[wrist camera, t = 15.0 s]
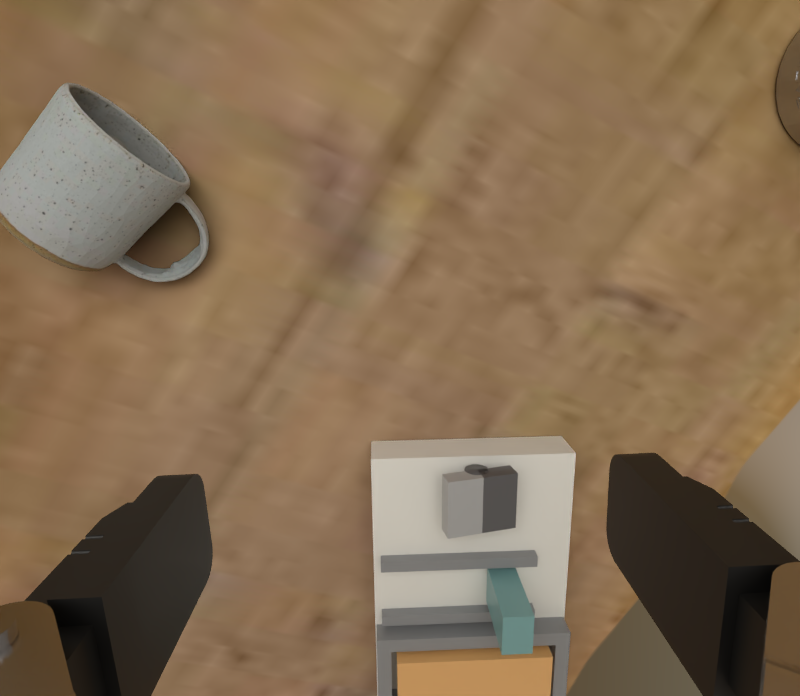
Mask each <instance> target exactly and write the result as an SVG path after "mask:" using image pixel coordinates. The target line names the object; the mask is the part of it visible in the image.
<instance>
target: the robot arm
mask: <svg viewBox="0 0 800 696" xmlns="http://www.w3.org/2000/svg"><path fill="white" fill-rule="evenodd" d="M776 100H777V107H778V113H779V115H780V118H781V120H782V123H783V125H784V127H785V129H786V130H787V132H788V133H789V134H790V136H791V137H792V138H793V139H794V140H795V141H796V142H797V143H798V144H800V31H799V32H798V33H797V34H796V36H795V37H794V39H793V40H792V42H791V43H790V45H789V46H788V48H787V50H786V52H785V55H784V57H783V59H782V62H781V64H780V69H779V73H778V77H777V85H776ZM607 539H608V544H609V548H610V552H611V554H612V557H613V559H614V561H615V563H616V564H617V566H618V567H619V569H620V570H621V572H622V573H623V575H624V576H625V578H626V579H627V581H628V582H629V584H630V585H631V587H632V588H633V590H634V591H635V593H636V595H637V596H638V598H639V599H640V600H641V602H642V603H643V605H644V607H645V608H646V610H647V611H648V613H649V614H650V616H651V617H652V619H653V620H654V622H655V623H656V625H657V626H658V628H659V629H660V631H661V632H662V634H663V635H664V637H665V639H666V640H667V642H668V643H669V645H670V646H671V648H672V649H673V651H674V652H675V654H676V655H677V657H678V658H679V660H680V661H681V663H682V664H683V666H684V667H685V669H686V670H687V672H688V674H689V675H690V677H691V678H692V680H693V681H694V683H695V684H696V686H697V687H698V689H699V690H700V692H701V693H702V695H703V696H800V561H799V560H797V559H796V558H795V557H794V556H792V555H791V554H790V553H789V552H788V551H786V549H784V548H783V547H782V546H781V545H780V544H778V543H777V542H776V541H775V540H774V539H772V538H771V537H770V536H769V535H768V534H766V533H765V532H764V531H763V530H762V529H761V528H759V527H758V526H757V525H756V524H754V523H753V522H749V518H747V517H746V516H745V515H744V514H743V513H741V512H740V511H739V510H738V509H737V508H733V505H732V504H731V503H729V502H728V501H727V500H726V499H725V498H724V497H722V496H721V495H720V494H719V493H718V492H716V491H715V490H714V489H712V488H710V487H708V486H706V485H704V484H702V483H700V482H697V481H695V480H693V479H691V478H689V477H683V476H682V475H681V474H679V473H678V472H677V471H676V470H675V469H674V468H673V467H671V466H670V465H669V464H668V463H667V462H666V461H665V460H664V459H662V458H661V457H660V456H659V455H658V454H656V453H639V454H618V455H614V456H613V458H612V460H611V463H610V471H609V490H608V508H607ZM211 566H212V541H211V534H210V526H209V519H208V512H207V505H206V498H205V491H204V485H203V481H202V479H201V477H200V476H199V475H198V474H186V475H165V476H157V477H156V478H154V479H153V481H152V482H151V483H150V484H149V485H148V486H147V487H146V488H145V490H144V491H143V492H142V493H141V494H140V495H139V496H138V497H137V499H136V500H135V501H134V502H133V503H126V504H125V505H123V506H121V507H120V508H118V509H117V510H115V511H113V512H112V513H110V514H108V515H107V516H105V517H104V518H102V519H101V520H100V521H99V522H98V523H97V524H96V525H95V527H94V528H93V529H92V530H91V531H90V532H89V533H88V534H87V535H86V538H85V539H83V540H81V541H80V542H79V544H78V545H77V546H76V547H75V548H74V549H73V550H72V553H71V555H67V556H66V557H65V558H64V559H63V561H62V562H61V563H60V564H59V565H58V566H57V567H56V568H55V569H54V570H53V571H52V572H51V573H50V574H49V575H48V576H47V577H46V579H45V580H44V581H43V582H42V583H41V584H40V585H39V586H38V587H37V588H36V589H35V590H34V591H33V592H32V593H31V594H30V596H29V597H28V598H27V599H26V600H25V601H22V602H15V603H9V604H5V605H2V606H0V696H151V695H152V693H153V690H154V688H155V686H156V684H157V682H158V680H159V678H160V676H161V674H162V672H163V670H164V668H165V666H166V664H167V662H168V660H169V658H170V656H171V654H172V652H173V650H174V648H175V646H176V644H177V642H178V640H179V638H180V636H181V634H182V632H183V630H184V628H185V626H186V624H187V621H188V619H189V617H190V615H191V613H192V611H193V609H194V607H195V605H196V603H197V601H198V599H199V597H200V595H201V593H202V591H203V589H204V587H205V585H206V583H207V581H208V578H209V575H210V571H211Z"/></svg>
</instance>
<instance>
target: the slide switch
mask: <svg viewBox="0 0 800 696" xmlns="http://www.w3.org/2000/svg"><path fill="white" fill-rule="evenodd" d="M486 602H487V605H488V609H489V612H490V616H491V619H492V623H493V626H494V630H495V633H496V637H497V641H498V644H499V648H500V651H501V655H511V654H533V637H534V619H535V616H534V613H533V611H532V608H531V606H530V603H529V601H528V598H527V596H526V593H525V591H524V588H523V585H522V583H521V580H520V578H519V575H518V573H517V570H516V568H492V569H487V593H486Z"/></svg>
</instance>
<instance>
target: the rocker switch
mask: <svg viewBox="0 0 800 696" xmlns="http://www.w3.org/2000/svg"><path fill="white" fill-rule="evenodd" d="M517 484H518V473H517V472H516V471H515V470H514V469H513V468H512V467H511V466H510V465H508V466H500V467H493V468H487V467H486V466H483V465H479V464H472V465H468V466H466V467H465V469H464V471H463V472H455V473H448V474H442V530H443V532H444V533H445V535H446V537H447V538H448V539H450V538H456V537H462V536H468V535H474V534H481V533H487V532H493V531H499V530H505V529H511V528H516V507H517Z"/></svg>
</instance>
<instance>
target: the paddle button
mask: <svg viewBox="0 0 800 696" xmlns="http://www.w3.org/2000/svg"><path fill="white" fill-rule="evenodd" d="M396 654H397V696H550V693H551V678H552V663H553V656H552V654H551V651H550V649H549V646H533V654H511V655H501V651H500V648H478V649H455V650H431V651H408V652H396Z"/></svg>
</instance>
